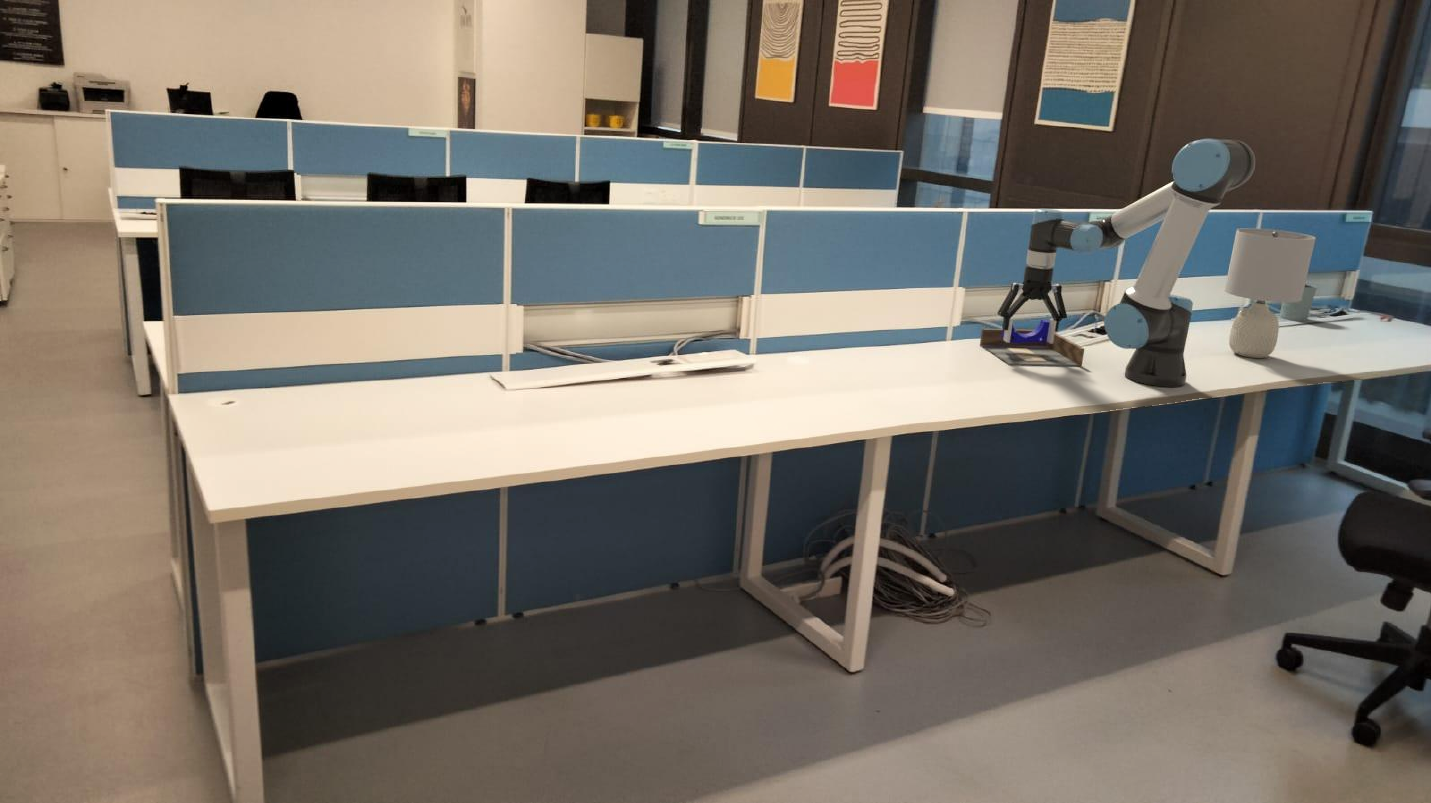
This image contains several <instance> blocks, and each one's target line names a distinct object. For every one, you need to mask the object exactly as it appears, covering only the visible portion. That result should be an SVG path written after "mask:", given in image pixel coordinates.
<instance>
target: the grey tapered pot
mask: <svg viewBox="0 0 1431 803" xmlns="http://www.w3.org/2000/svg"><path fill="white" fill-rule="evenodd" d="M1317 288H1318V287H1317V285H1313V284H1309V283H1305V287H1304V291H1303V296H1302V300H1301V301H1299V302H1290V303H1286V302H1281V308H1280V314H1279V317H1280V318H1281V319H1283V320H1288V321H1295V322H1307V320H1308V319H1309V315H1310V310H1311V308H1312V305H1313V301H1314V297H1315V294H1316V292H1317Z"/></svg>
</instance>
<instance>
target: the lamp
mask: <svg viewBox="0 0 1431 803" xmlns="http://www.w3.org/2000/svg"><path fill="white" fill-rule="evenodd" d="M1315 242H1316V237H1315V236H1313V235H1309V234H1305V233H1300V232H1296V231H1295V232H1294V231H1287V230H1280V229H1279V230H1278V229H1271V228H1267V229H1266V228H1253V227H1251V228H1248V227H1247V228H1246V227H1245V228H1244V227H1243V228H1237V229H1236V232H1235V236H1234V242H1233V247H1232V251H1231V252H1232V253H1231V256H1230V262H1229V265H1228V266H1229V268H1228V272H1227V276H1226V281H1225V285H1224V286H1225V287H1224V292H1225V293H1227V294H1230V295H1233V296H1236V297H1239V298H1240V297H1241V298H1244V299H1250V300H1254V302H1252V304H1251V305H1250V306H1249V307H1247V308H1244V309H1241V310H1240V311H1238V313H1237V315H1236V316H1235V317H1234V320H1233V322H1232V326H1231V328H1230V333H1229V338H1228V340H1229V342H1228V343H1229V344H1228V345H1229V347H1230V349H1231V350H1232V352H1233V353H1235V354H1237V355H1238V356H1241V357H1246V358H1250V359H1251V358H1252V359H1264V358H1266V357H1268V356H1270V355H1271V354H1272V353H1273V352H1274V351H1275V349H1276V346H1277V342H1278V337H1279V330H1280V328H1279V327H1280V326H1279V325H1280V324H1279V319H1278V316H1277V314H1275V312H1273V311H1271V309H1269V308H1270V307H1269V305H1268V304H1267V303H1266V302H1272V303H1273V302H1274V303H1282V302H1286V303H1290V302H1299V301H1301V300H1302V296H1303V291H1304V287H1305V284H1306V281H1307V278H1308V273H1309V268H1310V264H1311V260H1312V254H1313V251H1314V246H1315ZM1255 300H1256V301H1255Z"/></svg>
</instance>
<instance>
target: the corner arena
mask: <svg viewBox="0 0 1431 803" xmlns="http://www.w3.org/2000/svg"><path fill="white" fill-rule="evenodd" d="M1014 330H1015V331H1016V332H1017V333H1020V334H1028V333H1031V332H1033V331H1034V330H1035V329H1017V328H1016V329H1015V328H1014ZM1002 331H1003V328H981V333H980V341H979V342H980V343H979V346H980V347H981V348H983V349H985V350H986V351H987V352H988V353H990V354H992V355H993V356H995V357H996V358H997V359H999V360H1001V361H1002V362H1003V363H1005V364H1006V365H1007V366H1024V367H1025V366H1028V367H1029V366H1031V367H1032V366H1033V367H1034V366H1035V367H1036V366H1038V367H1039V366H1040V367H1083V360H1084V353H1085V348H1084V347H1082V346H1081V345H1079V344H1077V343H1075V342H1073V341H1071V340H1069V339H1068V338H1066V337H1064V336H1062V335H1060V334H1058V333H1057V332H1055V334H1054V340H1053V344H1050V343H1049V342H1046V343H1041V342H1027V343H1016V342H1010V343H1007V342H1005V341H1004V340H1003V339H1002Z"/></svg>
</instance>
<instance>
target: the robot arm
mask: <svg viewBox="0 0 1431 803" xmlns="http://www.w3.org/2000/svg"><path fill="white" fill-rule="evenodd" d="M1255 168H1256V157H1255V154H1254V151H1253V149H1252V148H1251V147H1250V146H1249V145H1248V144H1246V143H1245V142H1243V141H1241V140H1237V139H1229V138H1228V139H1214V138H1202V139H1199V140H1197V139H1196V140H1194V141H1191V142H1189V143H1186V145H1185V146H1183V147H1182V148H1181V149H1180V150H1179V151H1178V152H1177V154H1176V155H1175V157H1174V159H1173V161H1172V165H1171V174H1172V175H1173V176H1172V178H1173V181H1171V182H1169V183H1167V184H1166V185H1164V186H1162V187H1160V188H1158V189H1156V190H1155V191H1153V192H1151V193H1149V194H1147V195H1146V196H1143V197H1141V198H1140V199H1137V201H1135V202H1133V203H1131V204H1129V205H1127V206H1126V207H1123V208H1121V209H1120V210H1118V211H1116V212H1114V213H1113V214H1111V215H1109V216H1107V217H1105V218H1103V219H1101V220H1094V221H1072V220H1066V219H1063V212H1062V211H1061V210H1058V209H1054V208H1052V209H1051V208H1037V209H1036V210H1035V211H1034V213H1033V217H1032V221H1031V224H1030V235H1029V243H1028V248H1027V255H1026V260H1025V263H1026V264H1027V265H1026V266H1025V268H1024V273H1023V274H1024V275H1023V282H1022V283H1017V282H1016V281H1015V282H1014V281H1013V282H1012V283H1011V286H1010V290H1009V292H1008V294H1007V295H1006V297H1005V299H1004V301H1003V302H1002V304H1001V306H1000V307H999V309H998V311H997V315H998V316H1000V317H1001V318H1003V319H1002V320H1003V321H1002V325H1001V326H1002V327H1001V329H1004V330H1005V332H1004V339H1003V340H1004V341H1005V342H1007V343H1010V337H1011V330H1012V323H1014V319H1012V317H1014V315H1015V314H1016V313H1017V312H1018V311H1019V310H1020V308H1021V307H1022V306H1023V305H1024V304H1025V303H1026V302H1028V301H1029V300H1031V301H1035V300H1038V301H1042V302H1043V303H1044V304H1045V307H1046V308H1047V310H1048V312H1049V313H1050V315H1051V317H1052V318H1049V320H1048V321H1049V322H1050V323H1049V329H1048V336H1047V342H1049V343H1050V344H1053V340H1054V334H1055V333H1056V332H1058V330H1059V327H1060V326H1059V324H1060V322H1061V321H1062V320H1063V319H1067V317H1068V314H1067V311H1066V306H1065V303H1064V298H1063V296H1062V290H1063V288H1062V287H1063V286H1062V285H1061V284H1058V283H1054V284H1052V281H1053V275H1054V270H1055V269H1054V268H1053V267H1055V263H1056V257H1057V250H1058V249H1063V250H1068V251H1072V252H1077V253H1078V254H1079V253H1080V254H1090V255H1091V254H1093V253H1095V252H1096V251H1097V250H1101V249H1104V250H1105V249H1108V250H1109V249H1113V248H1116V247H1119V246H1121V245H1123V243H1124V242H1125V241H1126V239H1129V238H1130V237H1132V236H1134V235H1136V234H1138V233H1139V232H1142V231H1144V230H1146V229H1148V228H1149V227H1151V226H1153V225H1155V224H1158V223H1160V222H1162V224H1161V225H1160V228H1159V230H1158V232H1157V235H1156V237H1155V239H1154V240H1153V243H1152V245H1151V248H1150V250H1149V252H1148V254H1147V256H1146V258H1145V262H1144V263H1143V266H1142V268H1141V270H1140V272H1139V274H1138V276H1137V279H1136V281H1135V283H1134V285H1132V286H1129V287H1127V288H1126V289H1125V291H1124V293H1123V294H1122V298H1121V299H1120V302H1119V303H1117V304H1114V305H1113V306H1112V307H1111V308H1109V309H1108V311H1107V312H1106V314H1105V317H1104V321H1103V323H1104V324H1103V326H1104V330H1105V332H1106V335H1107V337H1108V340H1110V342H1112V344H1113V345H1115V346H1117V347H1119V348H1122V349H1125V350H1127V349H1128V350H1129V349H1130V350H1131V349H1133V350H1134V352H1133V354H1132V356H1131V357H1130V359H1129V361H1128V363H1127V365H1125V366H1126V367H1125V370H1124V371H1125V372H1124V376H1125V378H1126V379H1128V380H1130V381H1134V382H1137V383H1139V382H1140V384H1143V383H1144V385H1150V386H1153V387H1154V386H1155V387H1162V386H1164V388H1165V387H1167V388H1175V387H1176V388H1177V387H1183V386H1184V385H1185V384H1186V382H1187V371H1186V370H1187V369H1186V363H1185V355H1184V352H1185V348H1186V344H1187V338H1188V333H1189V330H1190V324H1191V319H1192V315H1193V307H1194V306H1193V304H1194V303H1193V301H1192V299H1190V298H1188V297H1184V296H1182V295H1181V296H1180V295H1175V294H1172V291H1173V289H1174V287H1175V285H1176V282H1177V281H1178V279H1179V276H1180V273H1182V270H1183V267H1184V265H1185V263H1186V262H1187V259H1188V257H1189V255H1190V253H1191V250H1192V248H1193V246H1194V244H1195V242H1196V240H1197V238H1198V235H1199V233H1200V232H1201V229H1202V227H1203V224H1204V223H1205V220H1206V219H1207V216H1208V214H1209V212H1210V210H1211V209H1212V208H1214V207H1216V206H1219V205H1220V204H1221V202H1222V200H1223V198H1224V196H1225V194H1226V193H1228V192H1230V191H1232V190H1234V189H1236V188H1239V187H1241V186H1243V185H1244V184H1245V183H1247V181H1249V179H1250V178H1251V177H1252V175H1253V174H1254V171H1255ZM1021 290H1022V292H1021V293H1020V295H1019V296H1018V298H1017V299H1016V300H1015V298H1016V297H1017V295H1018V294H1019V293H1018V292H1020V291H1021ZM1051 291H1052V293H1053V296H1054V301H1055V303H1056V307H1055V305H1054V304H1053V302H1052V300H1051V298H1050V296H1049V293H1050V292H1051Z"/></svg>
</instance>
